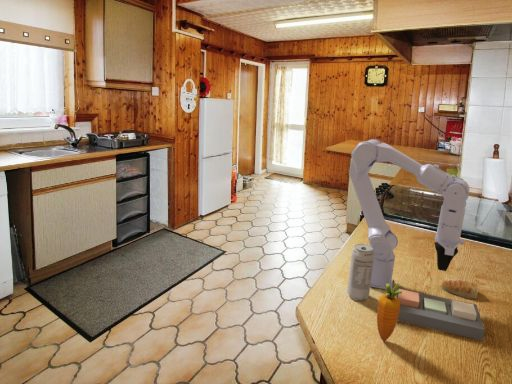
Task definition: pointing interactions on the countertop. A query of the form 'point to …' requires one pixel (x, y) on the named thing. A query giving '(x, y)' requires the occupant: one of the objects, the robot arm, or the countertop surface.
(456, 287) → the pastry
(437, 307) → the sage button
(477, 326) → the panel
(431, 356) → the countertop surface
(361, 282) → the energy drink can
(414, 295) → the terracotta button
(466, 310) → the cream button
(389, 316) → the carrot
